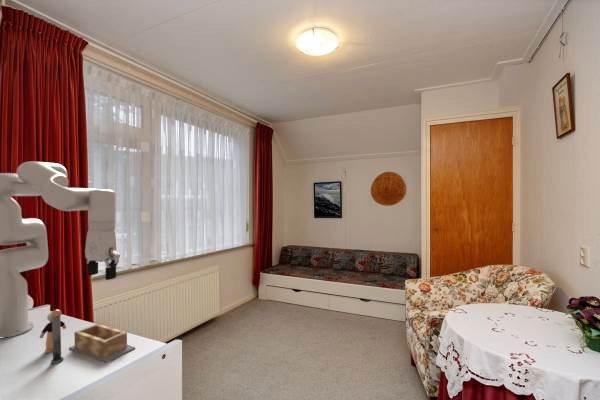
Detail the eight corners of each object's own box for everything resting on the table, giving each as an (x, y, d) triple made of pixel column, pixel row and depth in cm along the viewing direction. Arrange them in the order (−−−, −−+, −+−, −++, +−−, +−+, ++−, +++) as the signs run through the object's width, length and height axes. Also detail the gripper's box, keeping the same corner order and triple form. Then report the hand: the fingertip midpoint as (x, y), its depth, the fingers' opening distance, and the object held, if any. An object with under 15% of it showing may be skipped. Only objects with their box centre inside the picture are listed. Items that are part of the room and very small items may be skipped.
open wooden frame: (74, 346, 102) (74, 332, 102) (97, 337, 109) (97, 323, 109) (104, 357, 96) (104, 342, 96) (127, 346, 103) (126, 332, 102)
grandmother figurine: (47, 355, 98) (46, 316, 98) (38, 353, 99) (37, 315, 99) (69, 343, 106) (69, 307, 105) (60, 342, 106) (60, 306, 106)
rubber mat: (69, 348, 102) (69, 347, 102) (98, 336, 111) (98, 335, 111) (106, 363, 94) (106, 361, 94) (135, 348, 102) (135, 347, 102)
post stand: (48, 362, 94) (47, 310, 93) (59, 357, 97) (58, 307, 96) (54, 365, 93) (53, 312, 92) (65, 360, 95) (64, 308, 95)
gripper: (74, 225, 102) (74, 275, 102) (106, 229, 94) (106, 283, 95) (97, 223, 108) (97, 270, 109) (129, 227, 101) (128, 277, 102)
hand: (101, 276), depth 102 cm, fingers open, 9 cm apart
